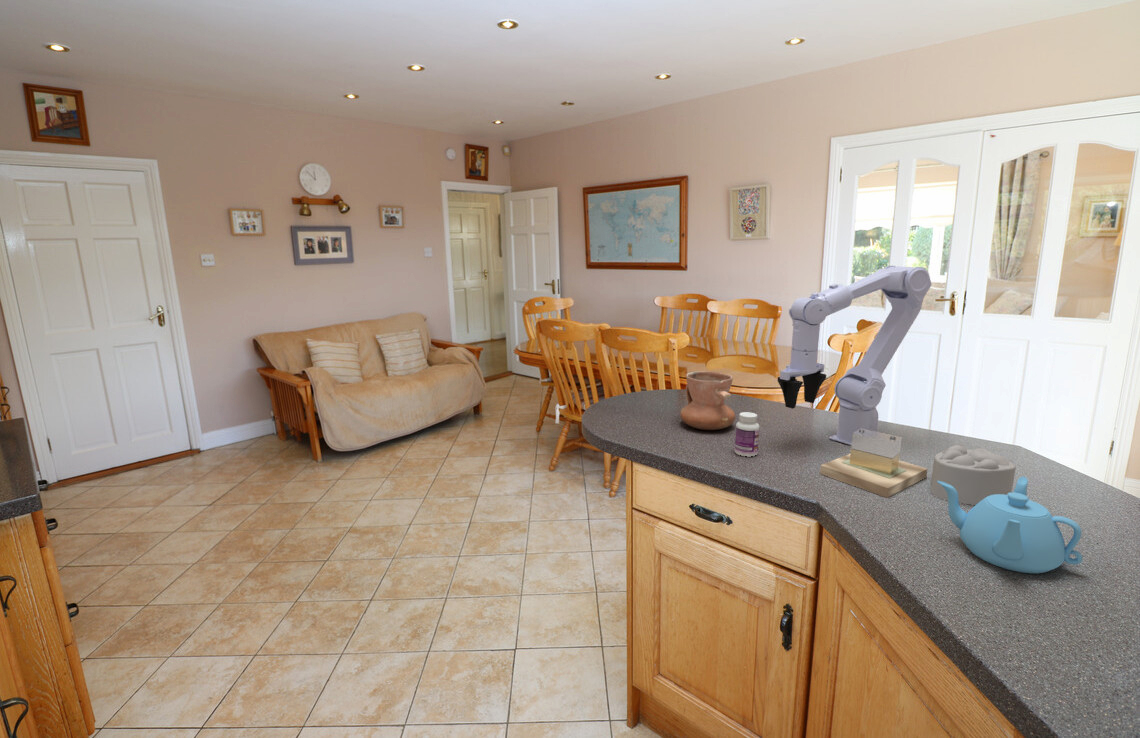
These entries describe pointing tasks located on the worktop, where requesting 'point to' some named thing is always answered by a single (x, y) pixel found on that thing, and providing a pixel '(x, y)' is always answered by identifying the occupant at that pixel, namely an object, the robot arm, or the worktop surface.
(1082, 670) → the worktop surface
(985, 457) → the lumpy-topped squat cylinder
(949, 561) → the worktop surface
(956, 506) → the teapot
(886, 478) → the birch stand
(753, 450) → the pill bottle
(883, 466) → the block
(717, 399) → the ceramic jug
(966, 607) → the worktop surface
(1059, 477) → the worktop surface
